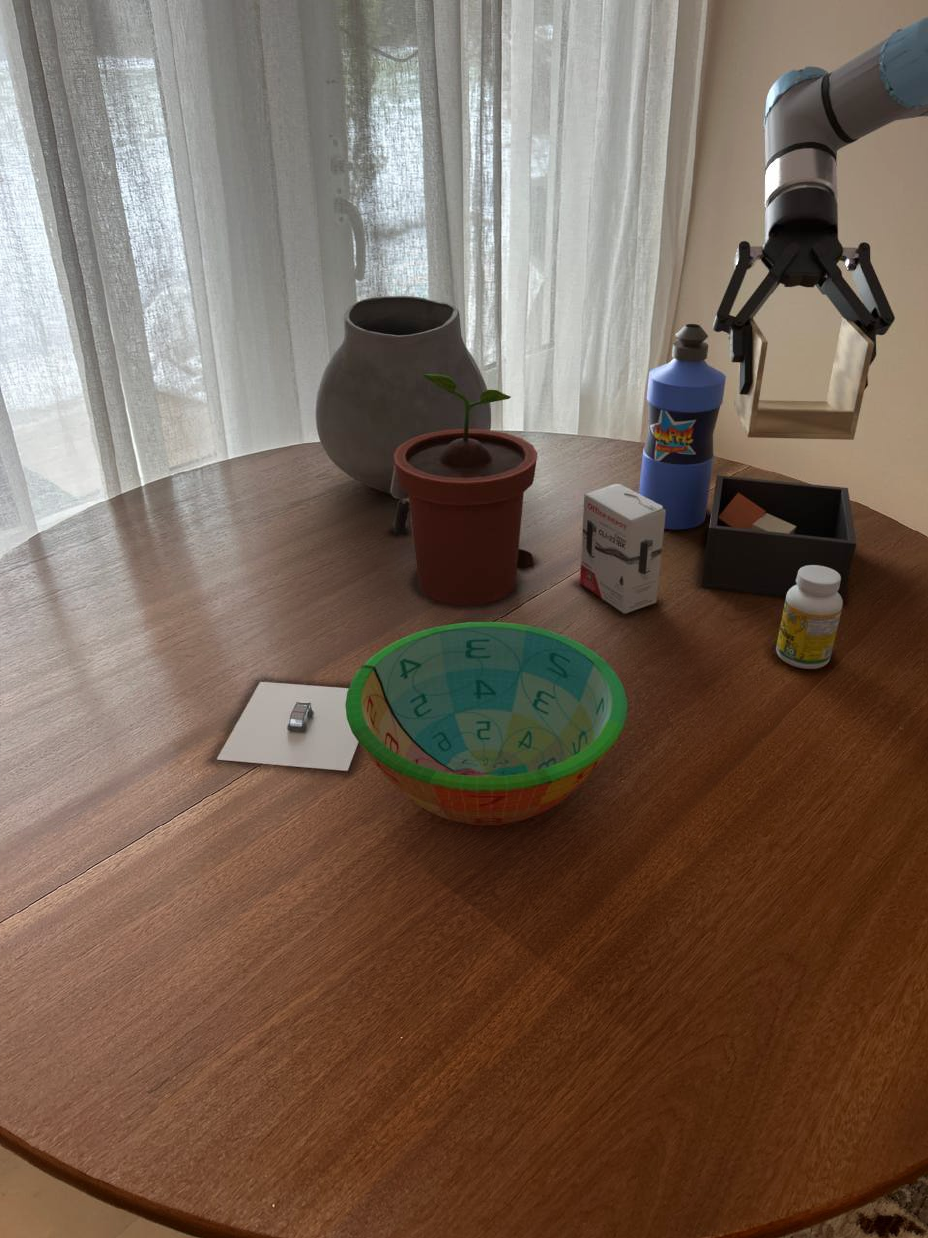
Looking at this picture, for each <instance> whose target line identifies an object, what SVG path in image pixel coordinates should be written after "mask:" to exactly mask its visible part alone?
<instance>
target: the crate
mask: <svg viewBox="0 0 928 1238" xmlns="http://www.w3.org/2000/svg"><path fill="white" fill-rule="evenodd" d="M747 326H752V384H751V386H750V388H749V391H748V393H747V395H742V394H740V362H738V372H737V379H736V384H735V393H734V400H733V406H734V409H735V411H736V413H737V416H738V418H739V420H740V423H741V425H742V428H743V430H744V432H745V434H746V438H749V439H750V438H751V439H752V438H754V439H755V438H756V439H757V438H759V439H795V440H796V439H799V440H803V439H804V440H844V441H847V440H849V441H854V440H855V436H856V432H857V426H858V422H859V418H860V412H861V408H862V403H863V398H864V394H865V390H866V389H865V385H866V380H867V376H868V377H869V370H870V366H871V365H870V362H871V357H872V352H873V348H874V342H873V341H872V340H871V339H870V338H869V337H868V336H867V335H866V334H865V333H864V332H863V331H862V330H861V329H860V328H859V327H858V326H857V325H856V324H855V323H854V322H853V321H850V320H847V319H844V318H843V317H842V319H841V324H840V328H839V335H838V339H837V345H836V350H835V354H834V355H835V356H834V360H833V366H832V371H831V376H830V381H829V385H828V391H827V397H826V400H825V401H822V400H821V401H819V400H816V401H814V400H772V399H771V400H768V399H766V400H765V399H763V400H762V399H760V396H761V390H762V384H763V383H762V382H763V376H764V370H765V364H766V357H767V350H768V344H769V343H768V339H767V338H766V337H765V335H764V333H763V332H762V330H761V328H759V326H758V324H757V322H756V321H755V319H754V318H752V319H751V320H750V321H749V322H748V325H747Z"/></svg>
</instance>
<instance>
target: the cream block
mask: <svg viewBox="0 0 928 1238" xmlns="http://www.w3.org/2000/svg"><path fill="white" fill-rule="evenodd" d="M751 529H752V530H761V531H770V532H779V533H788V534H794V532H795V529H796V526H794V525H792V524H790V523H788V522H785V521H783V520H781V519H779V518H777V517H774V516H772V515H770V514H768V513H766V514H764V515H763V516H762V517H761V518H760V519H758V520H757V521H756V522H755V523H754V524H753V525H752V528H751Z"/></svg>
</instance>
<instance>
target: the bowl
mask: <svg viewBox="0 0 928 1238" xmlns="http://www.w3.org/2000/svg"><path fill="white" fill-rule="evenodd" d="M348 688H349V689H348V692H347V698H346V704H345V706H346V715H347V720H348V723H349V726H350V728H351V731H352V733H353V735H354V736H355V738H356V739H357V740H358V744H359V745H360V746H361V748H362V749H363V750H364V751H365V752H366V754H367V755H368V757H369V758H370V760H371V761H372V762H373V764H375V765H376V766H377V767H378V768H379V769H380V771H381V772H382V774H383V776H384V777H385V778H386V780H388V782H389V783H390V784H392V786H394V787H395V788H396V789H397V790H398V792H400V794H401V795H403V796H404V797H405V798H406V799H408V800H409V801H411V802H412V803H413V804H415V805H417V806H418V807H420V808H422V809H424V810H426V811H428V812H430V813H432V814H434V815H436V816H438V817H440V818H444V819H447V820H449V821H453V822H458V823H462V824H466V825H477V826H499V825H507V824H512V823H516V822H521V821H524V820H528V819H530V818H532V817H535V816H537V815H539V814H542V813H544V812H546V811H548V810H550V809H552V808H554V807H555V806H557V805H559V804H560V803H562V802H563V801H564V800H565V799H567V798H568V797H570V795H571V794H573V793H574V792H575V791H576V790H577V789H578V788H580V786H581V785H582V784H583V783H584V782H585V781H586V780H587V778H588V777H589V776H590V775H591V773H592V772H593V770H595V768H596V767H597V766H598V765H599V764H600V763H601V762H602V760H603V759H604V758H605V757H606V755H607V753H608V752H609V751H610V749H611V748H612V747H613V746H614V745H615V743H616V742H617V740H618V739H619V737H620V735H621V733H622V731H624V728H625V724H626V720H627V716H628V698H627V696H626V695H627V694H626V691H625V687H624V685H623V683H622V682H621V680H620V678H619V676H618V675H617V673H616V672H615V670H614V669H613V668H612V667H611V666H610V665H609V663H608V662H606V661H605V660H604V659H603V658H602V657H600V655H598V654H597V653H596V652H595V651H593V650H591V649H589V648H588V647H587V646H585V645H583V644H582V643H580V642H578V641H576V640H574V639H571V638H569V637H567V636H566V635H562V634H560V633H558V632H557V633H556V632H555V631H550V630H549V629H544V628H540V627H535V626H531V625H526V624H519V623H513V622H499V621H471V622H470V621H469V622H460V623H451V624H445V625H440V626H435V627H431V628H427V629H424V630H420V631H417V632H415V633H412V634H409V635H407V636H404V637H401V638H399V639H398V640H396V641H394V642H392V643H390V644H388V645H386V646H384V647H383V648H382V649H381V650H379V651H377V652H376V653H375V654H373V655H372V656H371V657H370V658H369V659H368V660H367V661H366V662H364V663H363V665H362V666H361V667H360V668H359V669H358V671H357V672H356V674H355V675H354V676H353V678H352V680H351V682H350V685H349V687H348Z"/></svg>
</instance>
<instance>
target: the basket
mask: <svg viewBox="0 0 928 1238" xmlns="http://www.w3.org/2000/svg"><path fill="white" fill-rule="evenodd" d="M738 493H740V494H741V495H743V496H744V497H746V498H747V499H749V500H750V501H751V502H753V503H754V504H756V505H757V506H759V507H760V508H762V509H763V510H765V514H766V513H768V514H770V515H772V516H774V517H777V518H779V519H781V520H783V521H785V522H788V523H790V524H792V525H794V526H796V529H795V532H794V534H788V533H779V532H770V531H761V530H752V529H743V528H733V527H724V526H717V521H718V517H719V515H720V514H721V513H722V512H723V510H724V509H725V508H726V507H727V506H728V504H729V503H730V502H731V501H732V500H733V498H734V497H735V496H736V495H737V494H738ZM856 549H857V538H856V531H855V524H854V517H853V511H852V506H851V499H850V492H849V488H848V487H842V486H832V485H823V484H812V483H800V482H792V481H781V480H771V479H760V478H750V477H749V478H748V477H739V476H730V475H719V474H717V475H716V478H715V485H714V493H713V499H712V506H711V513H710V518H709V527H708V533H707V540H706V548H705V555H704V560H703V561H704V563H703V569H702V575H701V583H700V587H705V588H713V589H721V590H728V591H737V592H743V593H754V594H761V595H768V596H777V597H783V598H786V595H787V592H788V591H789V589H790V588H792V587H793V586H795V585H797V583H796V578H797V574H798V571H799V569H800V568H802V567H804V566H808V565H819V566H824V567H828V568H831V569H833V570H835V571H836V572H838V573H839V574H840V576H841V581H840V587H839V590H838V591H837V592H838V593H839V594H840V596H841V598H842V601H843V602H844V599H845V595H846V592H847V591H846V590H847V586H848V583H849V578H850V575H851V574H850V573H851V569H852V566H853V561H854V558H855V557H854V556H855V552H856Z"/></svg>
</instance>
